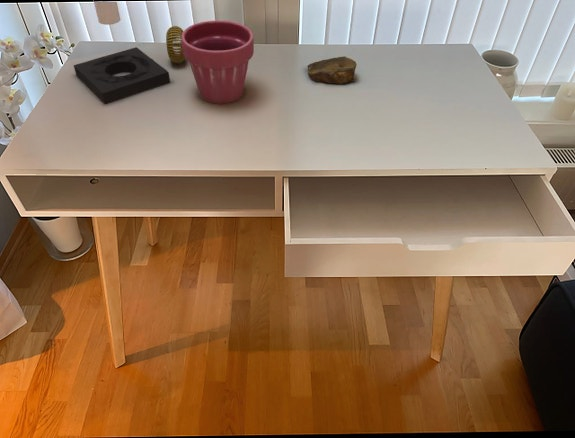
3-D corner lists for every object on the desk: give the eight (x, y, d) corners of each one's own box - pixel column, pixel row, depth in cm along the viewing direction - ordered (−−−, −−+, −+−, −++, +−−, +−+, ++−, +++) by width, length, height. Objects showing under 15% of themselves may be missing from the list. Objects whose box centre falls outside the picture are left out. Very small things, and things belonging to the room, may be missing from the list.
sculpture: (171, 53, 121) (166, 20, 116) (188, 53, 122) (184, 20, 116) (168, 69, 116) (163, 35, 110) (186, 69, 116) (182, 35, 110)
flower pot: (266, 101, 107) (265, 41, 98) (203, 117, 102) (196, 56, 93) (238, 71, 116) (235, 14, 107) (179, 85, 111) (170, 26, 102)
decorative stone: (310, 86, 112) (311, 71, 109) (305, 65, 118) (305, 51, 116) (357, 84, 112) (359, 69, 110) (349, 64, 119) (351, 49, 117)
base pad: (105, 104, 105) (102, 93, 103) (76, 75, 113) (73, 65, 111) (170, 82, 112) (168, 71, 110) (138, 57, 120) (136, 47, 118)
